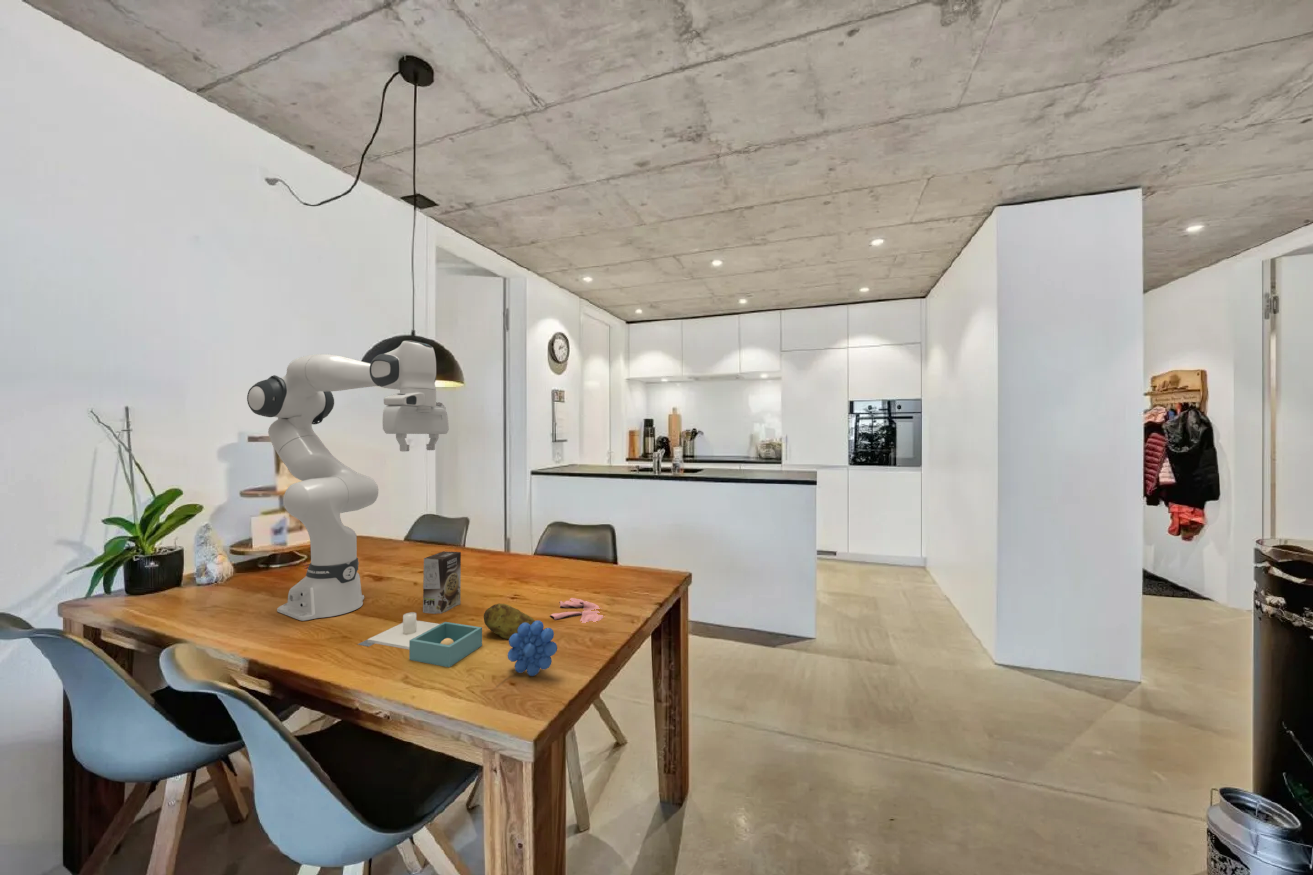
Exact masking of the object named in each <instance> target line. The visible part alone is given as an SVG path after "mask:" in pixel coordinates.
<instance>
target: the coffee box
mask: <svg viewBox="0 0 1313 875" xmlns="http://www.w3.org/2000/svg"><path fill="white" fill-rule="evenodd" d="M461 554H462V553H461V551H440V552H437V553H435V554H432V555H430V556H426V557H424V558H423V585H422V590H423V594H422V595H423V596H422V597H423V598H422V613H425V614H433V615H436V614H443V613H446V612H448V611H450V610H451V609H454V608H455V607H457V606H460V605H461V589H462V588H461V587H462V586H461V581H462V580H461V576H462V575H461V570H462V569H461V568H462V566H461V564H462V562H461V561H462V560H461V558H462V556H461Z"/></svg>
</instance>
